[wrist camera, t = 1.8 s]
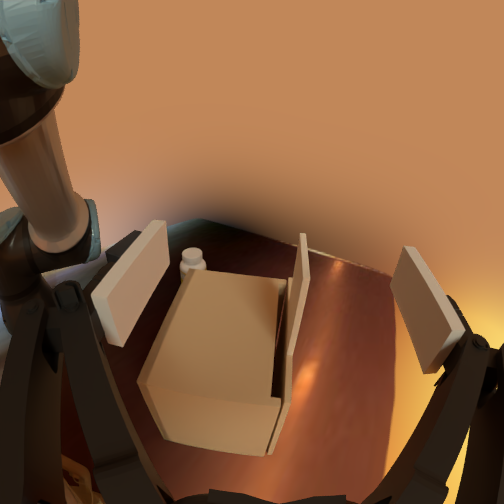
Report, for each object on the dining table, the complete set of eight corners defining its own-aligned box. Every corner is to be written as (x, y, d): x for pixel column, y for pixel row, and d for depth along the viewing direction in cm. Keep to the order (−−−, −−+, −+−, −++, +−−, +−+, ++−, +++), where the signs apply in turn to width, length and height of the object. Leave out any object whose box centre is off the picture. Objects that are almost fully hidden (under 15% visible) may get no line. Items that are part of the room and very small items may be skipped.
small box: (140, 266, 68) (134, 228, 63) (161, 273, 67) (156, 234, 61) (113, 290, 60) (103, 250, 54) (134, 299, 58) (126, 257, 53)
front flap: (267, 454, 32) (305, 329, 19) (276, 350, 49) (298, 211, 35) (271, 454, 32) (314, 330, 19) (279, 351, 49) (303, 211, 35)
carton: (164, 439, 33) (136, 381, 25) (195, 341, 50) (189, 268, 42) (263, 456, 32) (280, 406, 24) (273, 351, 49) (286, 279, 41)
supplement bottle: (195, 280, 65) (193, 242, 60) (212, 291, 63) (211, 252, 58) (177, 291, 62) (173, 252, 57) (193, 303, 59) (190, 263, 54)
